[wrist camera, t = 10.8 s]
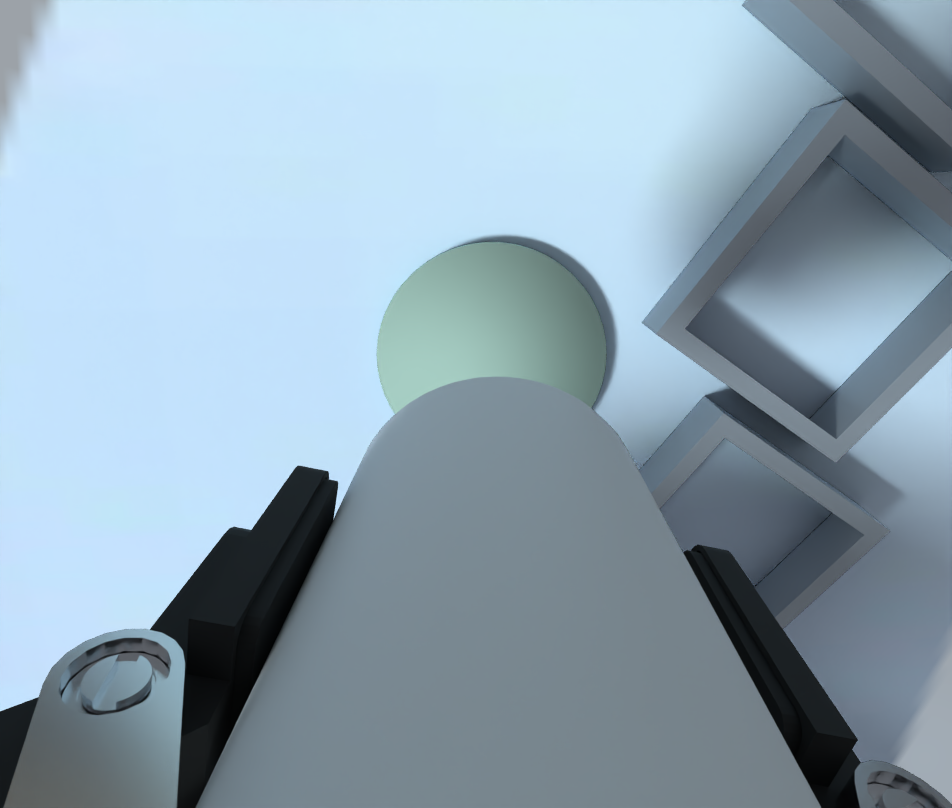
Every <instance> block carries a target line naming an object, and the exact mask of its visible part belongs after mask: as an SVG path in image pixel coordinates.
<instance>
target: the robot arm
mask: <svg viewBox="0 0 952 808" xmlns="http://www.w3.org/2000/svg"><path fill="white" fill-rule="evenodd" d="M337 490H338V481H334V480H329V473H328V471H324V470H318V469H313V468H308V467H303V466H297V467H296V468H295V469H294V471H293V472H292V473H291V475H290V476H289V478H288V479H287V481H286V482H285V483H284V485H283V486H282V488H281V489H280V490H279V492H278V493H277V495H276V496H275V497H274V499H273V500H272V502H271V503H270V505H269V506H268V507H267V509H266V510H265V512H264V513H263V514H262V516H261V517H260V519H259V520H258V521H257V523H256V524H255V526H254V527H253V529H252V530H248V529H243V528H238V527H232V528H230V529H229V530H228V531H227V532H226V533H225V534H224V535H223V536H222V538H221V539H220V540H219V542H218V543H217V544H216V545H215V547H214V548H213V549H212V551H211V552H210V553H209V554H208V556H207V557H206V558H205V560H204V561H203V562H202V563H201V565H200V566H199V567H198V569H197V570H196V571H195V572H194V574H193V575H192V576H191V577H190V579H189V580H188V581H187V583H186V584H185V585H184V586H183V588H182V589H181V590H180V592H179V593H178V594H177V595H176V597H175V598H174V599H173V601H172V602H171V603H170V604H169V606H168V607H167V608H166V610H165V611H164V612H163V613H162V615H161V616H160V617H159V618H158V620H157V621H156V622H155V624H154V625H153V626H152V627H151V629H150V630H148V629H124V630H119V631H114V632H109V633H105V634H102V635H100V636H97V637H95V638H92V639H90V640H87V641H85V642H83V643H82V644H80V645H78V646H77V647H75V648H74V649H72V650H71V651H69V652H67V653H66V654H65V655H64V656H63V657H62V658H61V659H60V660H59V661H58V662H57V663H56V664H55V665H54V666H53V667H52V668H51V670H50V672H49V674H48V675H47V677H46V679H45V681H44V683H43V685H42V689H41V692H40V695H39V697H38V698H35V699H33V700H30V701H27V702H24V703H22V704H19V705H16V706H14V707H11V708H8V709H6V710H3V711H0V808H196V806H197V804H198V802H199V800H200V798H201V796H202V794H203V791H204V789H205V787H206V785H207V783H208V781H209V779H210V777H211V775H212V773H213V771H214V768H215V766H216V764H217V762H218V760H219V758H220V756H221V754H222V752H223V750H224V748H225V745H226V743H227V741H228V739H229V737H230V735H231V733H232V731H233V729H234V727H235V725H236V722H237V720H238V718H239V716H240V714H241V712H242V710H243V708H244V706H245V704H246V702H247V699H248V697H249V695H250V693H251V691H252V689H253V687H254V685H255V683H256V681H257V679H258V676H259V674H260V672H261V670H262V668H263V666H264V664H265V662H266V660H267V658H268V656H269V653H270V651H271V649H272V647H273V645H274V643H275V641H276V639H277V637H278V635H279V633H280V630H281V628H282V626H283V624H284V622H285V620H286V618H287V616H288V614H289V612H290V610H291V607H292V605H293V603H294V601H295V599H296V597H297V595H298V593H299V591H300V589H301V587H302V584H303V582H304V580H305V578H306V576H307V574H308V572H309V570H310V568H311V566H312V564H313V561H314V559H315V557H316V555H317V553H318V551H319V549H320V547H321V545H322V543H323V541H324V538H325V536H326V534H327V532H328V530H329V528H330V526H331V524H332V522H333V518H334V511H335V504H336V497H337ZM684 555H685V557H686V559H687V561H688V563H689V565H690V566H691V568H692V570H693V572H694V574H695V576H696V577H697V579H698V581H699V583H700V585H701V587H702V589H703V590H704V592H705V594H706V596H707V598H708V600H709V601H710V603H711V605H712V607H713V609H714V611H715V613H716V614H717V616H718V618H719V620H720V622H721V624H722V625H723V627H724V629H725V631H726V633H727V635H728V637H729V638H730V640H731V642H732V644H733V646H734V648H735V649H736V651H737V653H738V655H739V657H740V659H741V661H742V662H743V664H744V666H745V668H746V670H747V672H748V673H749V675H750V677H751V679H752V681H753V683H754V685H755V686H756V688H757V690H758V692H759V694H760V696H761V697H762V699H763V701H764V703H765V705H766V707H767V709H768V710H769V712H770V714H771V716H772V718H773V720H774V721H775V723H776V725H777V727H778V729H779V731H780V732H781V734H782V736H783V738H784V740H785V742H786V744H787V745H788V747H789V749H790V751H791V753H792V755H793V756H794V758H795V760H796V762H797V764H798V766H799V768H800V769H801V771H802V773H803V775H804V777H805V779H806V780H807V782H808V784H809V786H810V788H811V790H812V792H813V793H814V795H815V797H816V799H817V801H818V803H819V804H820V806H821V808H952V804H951V803H950V802H949V801H948V800H947V799H946V798H945V797H944V796H942V794H940V793H939V792H938V791H936V790H935V789H934V788H932V787H931V786H929V785H928V784H927V783H926V782H924V781H923V780H921V779H920V778H918V777H916V776H915V775H913V774H911V773H910V772H908V771H906V770H904V769H902V768H900V767H897V766H895V765H892V764H889V763H887V762H882V761H874V760H869V761H866V762H862V763H861V762H860V761H859V759H858V758H857V756H856V755H855V753H854V752H853V750H852V749H853V747H854V745H855V744H856V742H857V740H858V739H857V738H856V736H855V735H854V733H853V732H852V731H851V729H850V728H849V726H848V725H847V723H846V722H845V720H844V719H843V717H842V716H841V714H840V713H839V711H838V710H837V708H836V707H835V706H834V704H833V703H832V701H831V700H830V698H829V697H828V695H827V694H826V692H825V691H824V689H823V688H822V686H821V685H820V683H819V682H818V681H817V679H816V678H815V676H814V675H813V673H812V672H811V670H810V669H809V667H808V666H807V664H806V663H805V661H804V660H803V658H802V657H801V656H800V654H799V653H798V651H797V650H796V648H795V647H794V645H793V644H792V642H791V641H790V639H789V638H788V636H787V635H786V633H785V632H784V631H783V629H782V628H781V626H780V625H779V623H778V622H777V620H776V619H775V617H774V616H773V614H772V613H771V611H770V610H769V608H768V607H767V605H766V604H765V603H764V601H763V600H762V598H761V597H760V595H759V594H758V592H757V591H756V589H755V588H754V586H753V585H752V583H751V582H750V580H749V579H748V578H747V576H746V575H745V573H744V572H743V570H742V569H741V567H740V566H739V564H738V563H737V561H736V560H735V558H734V557H733V555H732V554H731V553H730V552H729V551H726V550H722V549H717V548H712V547H707V546H702V545H697V546H695V547H694V548H693V549H692V550H691V551H688V550H687V551H685V552H684Z"/></svg>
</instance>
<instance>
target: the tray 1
mask: <svg viewBox="0 0 952 808" xmlns="http://www.w3.org/2000/svg"><path fill="white" fill-rule="evenodd" d="M742 6H743V7H744V8H745V9H747V10H748V11H749V12H750V13H751V14H752V15H753V16H755V17H756V18H757V19H758V20H759V21H760V22H761V23H762V24H764V25H765V26H766V27H767V28H768V29H769V30H770V31H771V32H773V33H774V34H775V35H776V36H777V37H778V38H779V39H781V40H782V41H783V42H784V43H785V44H786V45H787V46H788V47H790V48H791V49H792V50H793V51H794V52H795V53H796V54H797V55H799V56H800V57H801V58H802V59H803V60H804V61H805V62H807V63H808V64H809V65H810V66H811V67H812V68H813V69H814V70H816V71H817V72H818V73H819V74H820V75H821V76H822V77H823V78H825V79H826V80H827V81H828V82H829V83H830V84H831V85H833V86H834V87H835V88H836V89H837V90H838V91H839V92H840V93H842V94H843V95H844V96H845V97H846V98H847V99H848V100H850V101H851V102H852V103H853V104H854V105H855V106H856V107H857V108H859V109H860V110H861V111H862V112H863V113H864V114H865V115H866V116H868V117H869V118H870V119H871V120H872V121H873V122H874V123H876V124H877V125H878V126H879V127H880V128H881V129H882V130H883V131H885V132H886V133H887V134H888V135H889V136H890V137H891V138H892V139H894V140H895V141H896V142H897V143H898V144H899V145H900V146H902V147H903V148H904V149H905V150H906V151H907V152H908V153H909V154H911V155H912V156H913V157H914V158H915V159H916V160H917V161H918V162H920V163H921V164H922V165H923V166H924V167H925V168H926V169H928V170H929V171H930V172H946V171H952V109H951V108H950V107H949V106H947V105H946V104H945V103H944V102H943V101H942V100H941V99H940V98H939V97H938V96H937V95H936V94H934V93H933V92H932V91H931V90H930V89H929V88H928V87H927V86H926V85H925V84H924V83H923V82H921V81H920V80H919V79H918V78H917V77H916V76H915V75H914V74H913V73H912V72H911V71H910V70H908V69H907V68H906V67H905V66H904V65H903V64H902V63H901V62H900V61H899V60H898V59H897V58H895V57H894V56H893V55H892V54H891V53H890V52H889V51H888V50H887V49H886V48H885V47H883V46H882V45H881V44H880V43H879V42H878V41H877V40H876V39H875V38H874V37H873V36H872V35H870V34H869V33H868V32H867V31H866V30H865V29H864V28H863V27H862V26H861V25H860V24H859V23H857V22H856V21H855V20H854V19H853V18H852V17H851V16H850V15H849V14H848V13H847V12H846V11H844V10H843V9H842V8H841V7H840V6H839V5H838V4H837V3H836V2H835V1H834V0H746V1H745V2H744V3H743V5H742Z"/></svg>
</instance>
